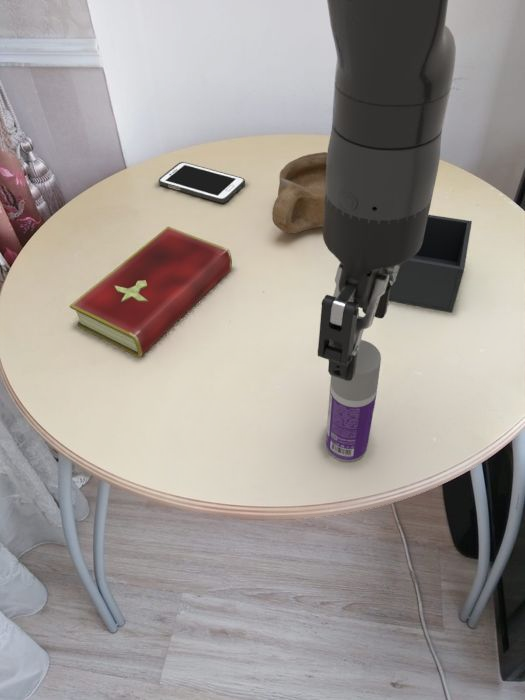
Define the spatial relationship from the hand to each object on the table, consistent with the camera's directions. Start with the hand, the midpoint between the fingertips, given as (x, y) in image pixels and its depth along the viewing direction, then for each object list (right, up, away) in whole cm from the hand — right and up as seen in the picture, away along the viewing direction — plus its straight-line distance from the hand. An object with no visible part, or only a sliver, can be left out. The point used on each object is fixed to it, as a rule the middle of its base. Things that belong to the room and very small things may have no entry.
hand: (358, 343), depth 52 cm
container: (+1, -12, +13) cm, 17 cm away
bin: (+14, +10, +31) cm, 35 cm away
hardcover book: (-24, +7, +31) cm, 40 cm away
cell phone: (-20, +29, +51) cm, 62 cm away
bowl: (0, +21, +43) cm, 47 cm away
